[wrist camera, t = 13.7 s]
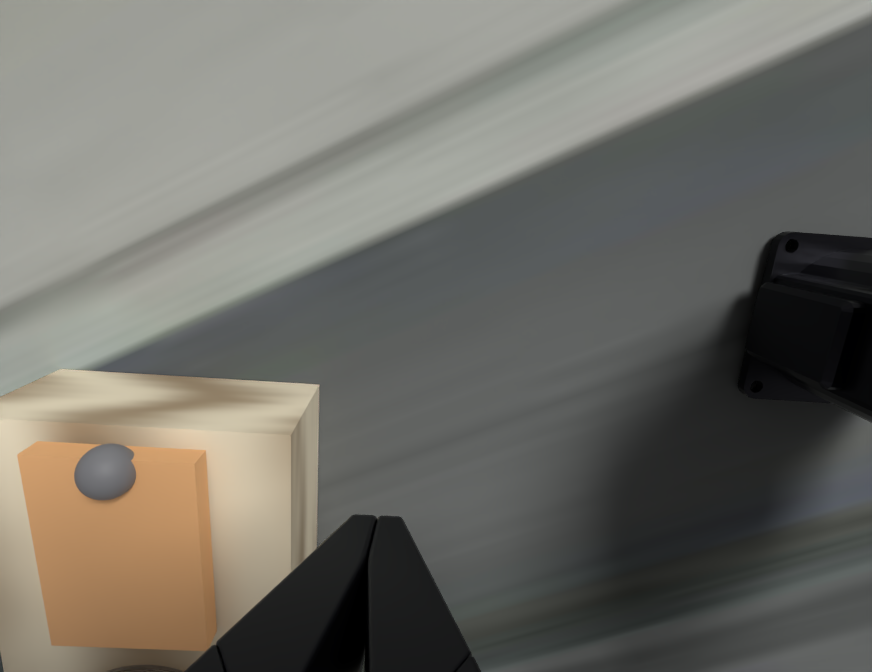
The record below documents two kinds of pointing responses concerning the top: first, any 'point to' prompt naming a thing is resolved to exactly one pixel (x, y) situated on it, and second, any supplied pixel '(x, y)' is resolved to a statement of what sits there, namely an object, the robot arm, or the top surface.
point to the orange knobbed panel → (122, 544)
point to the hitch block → (227, 486)
